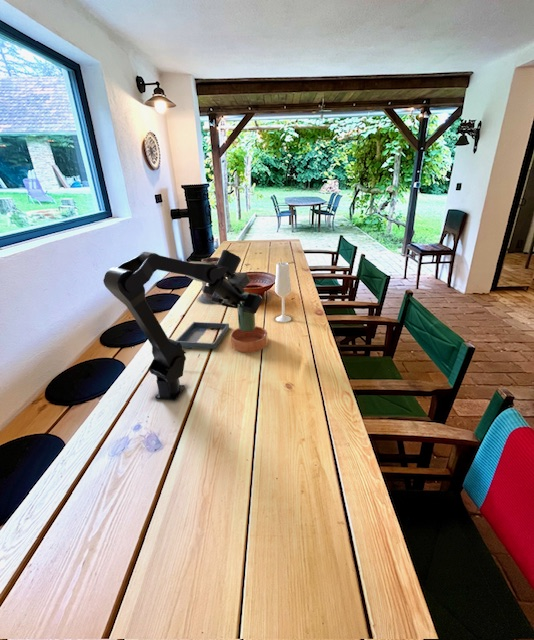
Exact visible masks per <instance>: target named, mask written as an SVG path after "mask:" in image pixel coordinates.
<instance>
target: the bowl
mask: <svg viewBox="0 0 534 640" xmlns="http://www.w3.org/2000/svg"><path fill="white" fill-rule="evenodd" d="M255 326H256V327H255V329H254V330H251V331H241V330H240V329H239V327H237V328H235V329H234V330H232V331H231V332H230V336H229V337H230V344H231V348H232V349H233V350H234V351H237V352H240V353H256V352H259V351H262V350H264V348H266V347H267V346H268V343H269V338H268V331H267V330H266V329H265V328H263V327H262V326H258V325H255Z"/></svg>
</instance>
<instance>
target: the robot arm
mask: <svg viewBox="0 0 534 640" xmlns="http://www.w3.org/2000/svg"><path fill="white" fill-rule="evenodd" d="M219 256H220V257H218V258H219V260H218V262H217V264H210V263H204V262H201V261H185V260H181V259H176V258H172V257H167V256H164V255H160V254H158V253H155V252H150V251H143V252H141V253H139V254H137V255H136V256H135V257H133V258H131V259H129V260H126V261H124V262H121V264H119V265H117V267H111V268H109V270H107V271H106V272H105V274H104V277H103V280H102V281H103V285H104V287H105V288H106V290H108V291H109V292H110V293H111V294H112V295H113V296H114V297H115V298H116V299H117V300H119V301H120V302H121V303H122V304H123V305H125V307H126V308H127V309H128V311H129V312H130V314H131V315H132V317H133V319H134V320H135V322H136V323H137V325H138V326H139V328H140V330H141V331H142V332H143V334H144V336H145V337H146V339H147V340H148V342H149V344H150V345H151V354H152V357H153V359H152V361H151V363H150V365H149V367H148V370H147V371H149V372H150V374H151V375H153V376H156V386H157V390H158V392H157V393H156V394H155V395H154V398H155V399H159V400H166V401H167V400H168V401H177V399H178V398H179V396H180V395H181V394H182V392H183V391H184V390H185V388H186V386H185V385H183V384H181V382H180V378H182V377H183V376H184V370H185V362H186V361H187V357H186V355H185V354H187V352H186V351H185V350H184V348H182V346H181V344H180V343H179V342H177V341H176V340H174V339H173V338H172V339H171V338H169V337H168V336H167V334H166V332H165V330H164V329H163V327H162V325H161V324H160V322H159V321H158V319H157V317H156V315H155V313H154V312H153V310H152V308H151V307H150V305H149V304H148V302H147V300H146V288H145V284H147V283H148V282H149V281H150V280H151V278H152V277H153V274H154V273H155V272H156V271H162V272H168V273H172V274H177V275H183V276H185V277H187V278H189V279H191V280H194V281H196V282H200V283H202V282H204V283H207V284H206V285H204V293H205V294H209V295H213V296H212V301H213V302H214V303H216V304H215V305H221V306H223V307H227V308H232V309H237V304H238V305H239V304H240V302H242V303H244V305H243V311H244V312H247V313H252V314H255V315H256V314H257V313H258V310H259V309H260V305H261V304H262V301H263V296H261V294H259V293H254V292H249V294H248V295H247V296H245V295H242V294H244V292H246V290H245V288H246V287H247V286H248V284H250V283H251V281H250V278H249V276H248V274H247V272H240V271H238V272H236V271H237V269H238V267H239V266H240V264H241V262H242V258H241V257H240V256H238V255H236V254H235V253H233V252H231V251H230V250H227V249H222V252H221V254H220V255H219ZM224 276H225V277H226V278H225V277H224ZM213 293H214V294H213ZM221 302H222V303H221Z"/></svg>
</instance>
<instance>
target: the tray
mask: <svg viewBox="0 0 534 640" xmlns="http://www.w3.org/2000/svg"><path fill="white" fill-rule="evenodd" d="M211 328H212V329H222V330H221V332H220V333H219V334H218V336H217V337H216V339H215V340H214V342H200V341H199V340H200V339H201V338H202V336H203V335H204V334H205V333H206V331H207V330H209V329H211ZM229 329H230V323H223V322H204V321H202V322H201V321H193V322H192V323H191V324H190V325H188V327H187V328H186V329H185V330H184V331H183V332H182V333H181V334H180V335H179V336H178V338H176V339H175V341H177V342H179V343H180V344H181V346H182V349H192V348H194V349H207V350H209V349H210V350H211V349H212V350H215V349H216V348H217V347H218V345H219V343H220V342H221V341H222V339H223V338H224V336H225V335H226V334H227V332H228V331H229Z"/></svg>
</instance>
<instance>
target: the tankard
mask: <svg viewBox="0 0 534 640" xmlns="http://www.w3.org/2000/svg"><path fill="white" fill-rule="evenodd" d="M219 258H220V257H217V256H214V257H210V256H209V257H207V258H201V260H200V262H204V263H210V264H217V262H218V260H219ZM224 277H225V276H224ZM225 278H226V279H227V277H225ZM206 284H207V283H204V282H201V291H202V293H201V295H200V297H199V302H200V303H201V304H206V305H217V304H216V303H214V302H213V301H212V296H213V295H209V294H205V293H204V285H206ZM213 294H214V293H213ZM221 303H222V302H221Z"/></svg>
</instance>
